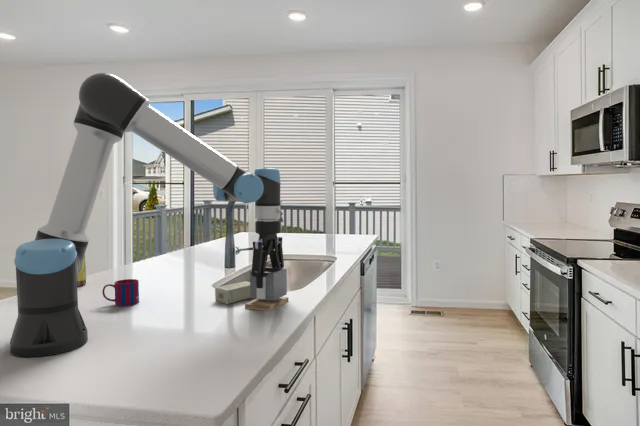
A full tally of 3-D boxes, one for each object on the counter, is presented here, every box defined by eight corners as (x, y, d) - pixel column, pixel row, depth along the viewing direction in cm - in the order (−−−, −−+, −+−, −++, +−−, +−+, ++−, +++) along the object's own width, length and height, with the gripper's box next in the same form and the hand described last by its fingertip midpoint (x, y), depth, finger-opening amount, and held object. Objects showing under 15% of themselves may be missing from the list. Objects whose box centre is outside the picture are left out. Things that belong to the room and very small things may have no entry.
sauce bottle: (90, 284, 166) (87, 230, 164) (72, 288, 160) (70, 231, 159) (79, 282, 169) (77, 229, 168) (62, 285, 164) (60, 230, 162)
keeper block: (268, 311, 130) (268, 289, 130) (244, 308, 133) (244, 287, 133) (288, 301, 141) (288, 281, 141) (265, 298, 144) (265, 279, 144)
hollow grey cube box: (273, 300, 133) (273, 273, 132) (250, 297, 136) (250, 271, 136) (286, 294, 140) (286, 268, 140) (264, 291, 143) (263, 266, 143)
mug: (137, 305, 137) (137, 282, 137) (101, 308, 135) (100, 285, 134) (140, 299, 144) (139, 278, 143) (105, 302, 141) (104, 280, 141)
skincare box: (227, 304, 137) (258, 296, 147) (226, 290, 137) (258, 283, 146) (214, 301, 142) (245, 293, 151) (214, 287, 141) (245, 280, 151)
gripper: (260, 223, 126) (261, 305, 127) (294, 217, 145) (295, 289, 146) (237, 222, 129) (238, 302, 130) (274, 217, 148) (274, 287, 149)
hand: (268, 295), depth 138 cm, fingers closed on hollow grey cube box, 8 cm apart
